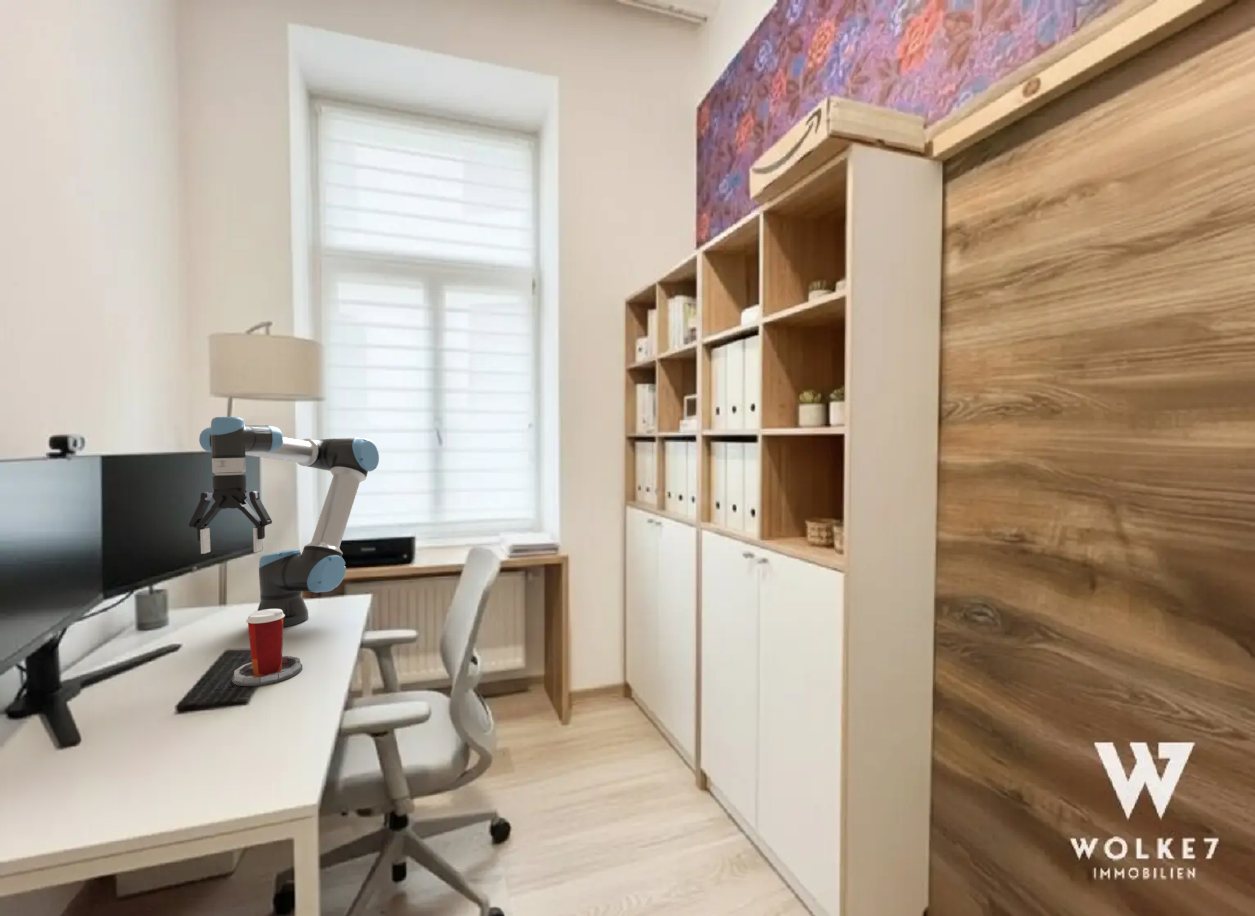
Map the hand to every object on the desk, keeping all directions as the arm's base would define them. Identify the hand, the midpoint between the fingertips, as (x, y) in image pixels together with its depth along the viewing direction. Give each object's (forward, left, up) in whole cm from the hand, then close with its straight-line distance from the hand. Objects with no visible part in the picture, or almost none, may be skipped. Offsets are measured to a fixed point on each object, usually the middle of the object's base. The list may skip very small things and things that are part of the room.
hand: (232, 552), depth 157 cm
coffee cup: (+14, +16, -28) cm, 35 cm away
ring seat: (+14, +16, -29) cm, 36 cm away
